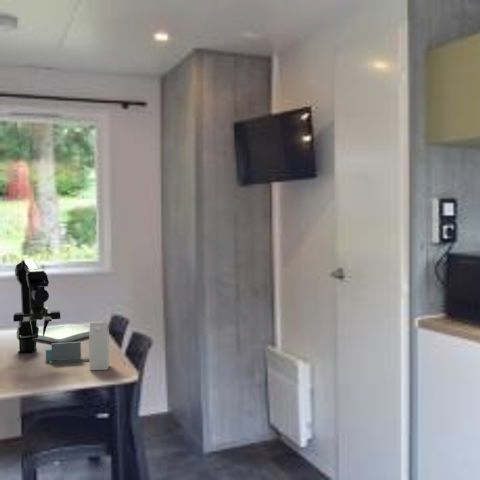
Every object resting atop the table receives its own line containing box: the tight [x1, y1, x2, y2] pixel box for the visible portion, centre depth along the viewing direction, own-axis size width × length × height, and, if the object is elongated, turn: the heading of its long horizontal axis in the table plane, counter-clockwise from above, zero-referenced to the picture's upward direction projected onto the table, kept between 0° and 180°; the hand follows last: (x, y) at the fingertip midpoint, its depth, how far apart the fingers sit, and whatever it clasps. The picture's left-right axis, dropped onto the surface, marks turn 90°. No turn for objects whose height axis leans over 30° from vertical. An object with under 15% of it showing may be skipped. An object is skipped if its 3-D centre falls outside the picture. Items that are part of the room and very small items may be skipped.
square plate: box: [35, 324, 90, 343], centre depth 305 cm, size 27×27×4 cm
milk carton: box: [88, 321, 110, 371], centre depth 248 cm, size 7×7×19 cm
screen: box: [51, 341, 82, 360], centre depth 258 cm, size 12×1×7 cm, turn 107°
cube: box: [45, 346, 52, 362], centre depth 261 cm, size 5×5×5 cm
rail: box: [48, 356, 90, 365], centre depth 259 cm, size 21×4×1 cm, turn 107°
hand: (37, 336), depth 254 cm, fingers open, 4 cm apart
